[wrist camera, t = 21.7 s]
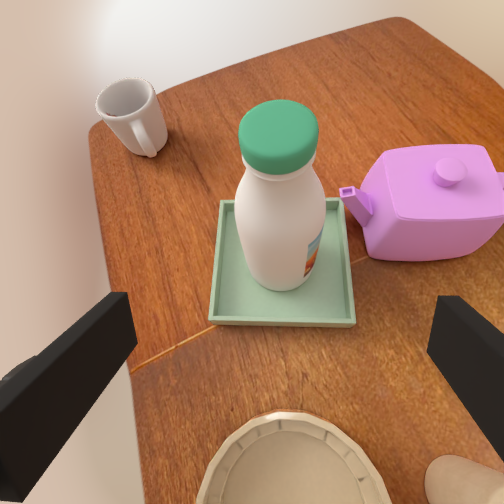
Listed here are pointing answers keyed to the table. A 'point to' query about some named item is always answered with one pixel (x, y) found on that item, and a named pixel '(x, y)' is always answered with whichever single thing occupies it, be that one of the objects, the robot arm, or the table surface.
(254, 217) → the milk bottle
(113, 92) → the cup
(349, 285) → the tray
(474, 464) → the candle
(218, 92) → the table surface
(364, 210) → the teapot
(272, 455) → the bowl
